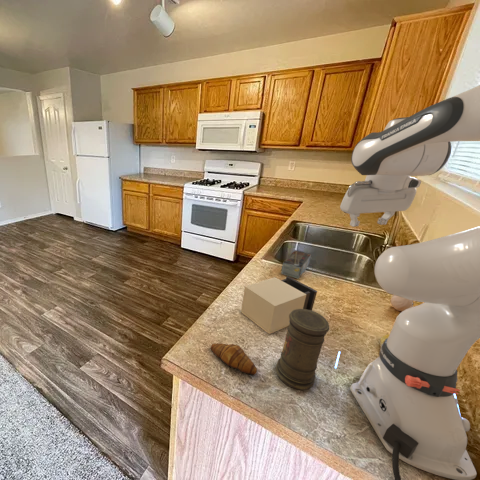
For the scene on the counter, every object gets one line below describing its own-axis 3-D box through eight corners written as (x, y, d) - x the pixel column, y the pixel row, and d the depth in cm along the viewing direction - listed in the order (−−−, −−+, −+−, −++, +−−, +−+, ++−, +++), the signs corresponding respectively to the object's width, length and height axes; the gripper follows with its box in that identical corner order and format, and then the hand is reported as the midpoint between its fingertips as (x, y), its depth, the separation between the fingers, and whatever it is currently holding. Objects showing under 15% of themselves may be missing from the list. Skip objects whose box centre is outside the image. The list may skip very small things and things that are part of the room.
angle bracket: (290, 293, 104) (295, 273, 100) (318, 309, 94) (324, 288, 91) (258, 305, 96) (262, 284, 93) (285, 323, 87) (290, 301, 83)
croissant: (261, 368, 71) (264, 353, 69) (250, 384, 66) (253, 369, 64) (217, 343, 79) (218, 329, 77) (204, 355, 75) (206, 341, 73)
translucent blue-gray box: (279, 274, 120) (282, 260, 118) (292, 260, 134) (294, 248, 132) (298, 279, 116) (301, 266, 113) (309, 265, 129) (312, 253, 127)
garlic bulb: (415, 313, 94) (423, 294, 91) (400, 315, 93) (409, 296, 90) (396, 302, 100) (403, 284, 97) (382, 304, 99) (389, 286, 96)
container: (317, 374, 69) (335, 318, 63) (308, 397, 63) (326, 337, 56) (282, 356, 75) (295, 302, 68) (270, 376, 68) (283, 319, 62)
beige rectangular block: (270, 301, 100) (274, 277, 96) (299, 321, 89) (306, 294, 86) (240, 312, 94) (244, 286, 90) (269, 334, 83) (275, 306, 79)
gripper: (360, 184, 71) (344, 231, 77) (427, 181, 73) (406, 227, 79) (343, 178, 76) (329, 222, 82) (405, 176, 79) (387, 219, 85)
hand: (367, 225), depth 81 cm, fingers open, 8 cm apart
